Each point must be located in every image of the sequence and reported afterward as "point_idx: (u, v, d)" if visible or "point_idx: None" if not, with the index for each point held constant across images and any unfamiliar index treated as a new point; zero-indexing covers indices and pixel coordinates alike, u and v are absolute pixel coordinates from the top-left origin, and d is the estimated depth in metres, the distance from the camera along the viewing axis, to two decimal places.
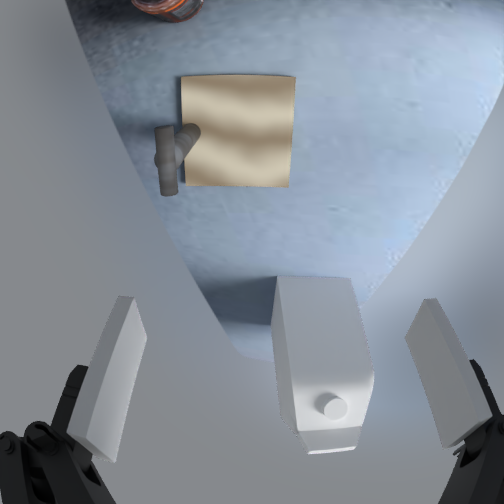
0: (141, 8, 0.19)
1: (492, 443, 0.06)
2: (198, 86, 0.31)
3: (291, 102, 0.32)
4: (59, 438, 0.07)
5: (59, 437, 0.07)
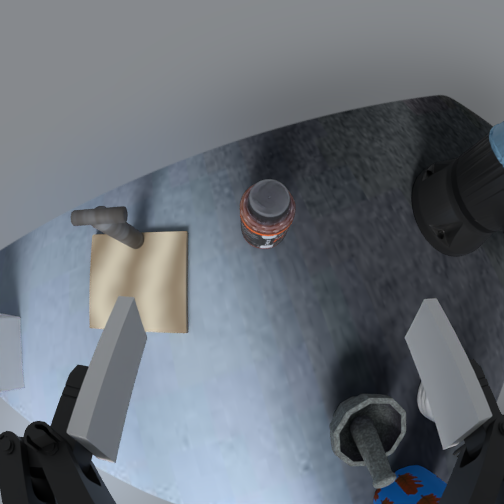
0: (245, 193, 0.32)
1: (492, 443, 0.06)
2: (176, 246, 0.39)
3: (162, 329, 0.37)
4: (59, 438, 0.07)
5: (59, 437, 0.07)
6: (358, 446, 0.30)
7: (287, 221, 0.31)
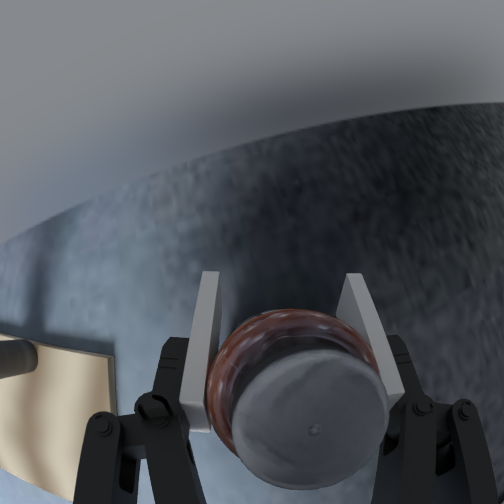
0: (223, 355, 0.09)
1: (409, 429, 0.07)
2: (90, 385, 0.16)
3: None
4: (175, 413, 0.08)
5: (175, 412, 0.08)
6: None
7: None
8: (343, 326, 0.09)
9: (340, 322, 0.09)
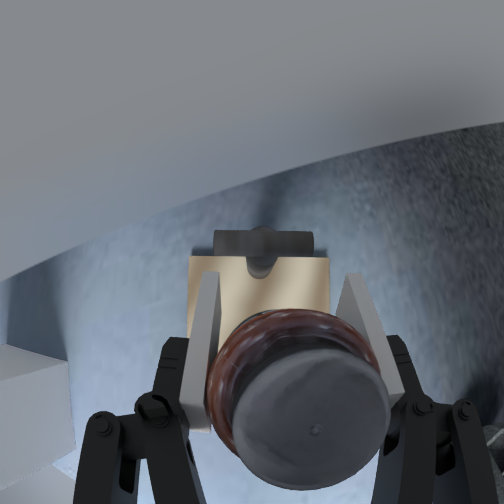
0: (223, 354, 0.09)
1: (409, 429, 0.07)
2: (316, 277, 0.30)
3: None
4: (175, 413, 0.08)
5: (175, 412, 0.08)
6: None
7: None
8: (344, 326, 0.09)
9: (341, 322, 0.09)
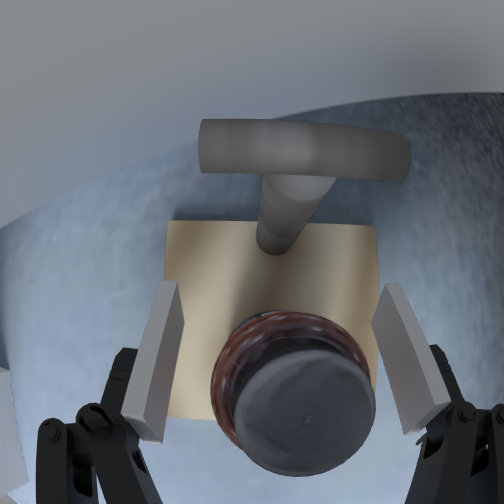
0: (225, 353, 0.10)
1: (453, 433, 0.07)
2: (359, 254, 0.19)
3: None
4: (115, 422, 0.07)
5: (115, 421, 0.07)
6: None
7: None
8: (335, 328, 0.10)
9: (333, 324, 0.10)
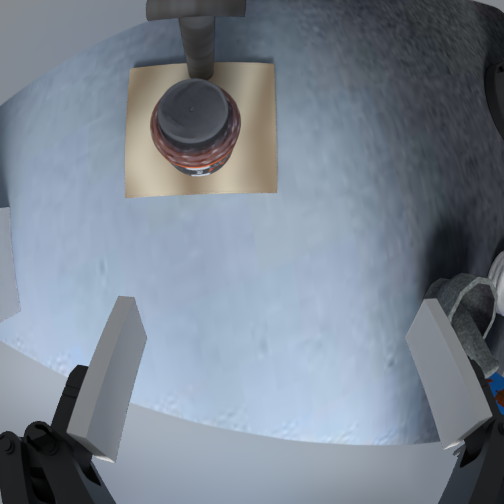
0: (158, 101, 0.17)
1: (492, 443, 0.06)
2: (261, 80, 0.26)
3: (243, 189, 0.27)
4: (59, 438, 0.07)
5: (59, 437, 0.07)
6: (458, 333, 0.28)
7: (224, 146, 0.18)
8: None
9: None
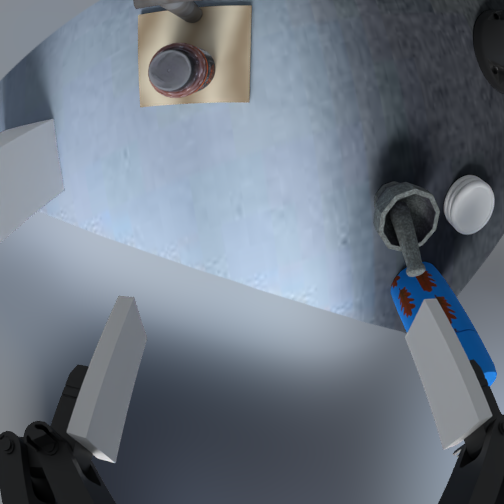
0: (152, 58, 0.24)
1: (492, 443, 0.06)
2: (240, 19, 0.28)
3: (223, 99, 0.34)
4: (59, 438, 0.07)
5: (59, 437, 0.07)
6: (396, 230, 0.39)
7: (194, 86, 0.25)
8: (189, 46, 0.23)
9: (188, 45, 0.23)
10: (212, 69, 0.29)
